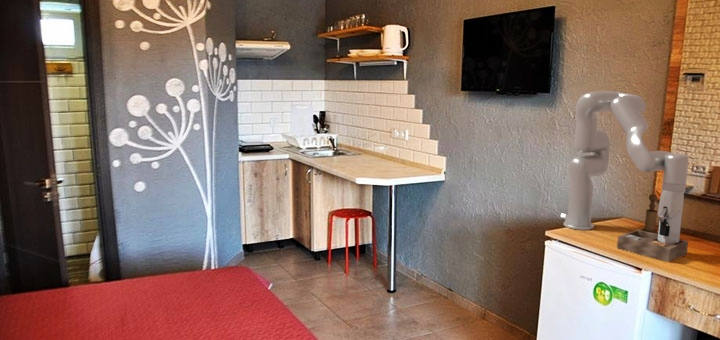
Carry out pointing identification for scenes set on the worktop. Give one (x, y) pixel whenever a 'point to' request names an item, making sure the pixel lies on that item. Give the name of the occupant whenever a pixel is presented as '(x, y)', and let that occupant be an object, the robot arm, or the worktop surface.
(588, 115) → the robot arm
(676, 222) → the skincare box
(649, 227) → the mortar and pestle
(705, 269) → the worktop surface
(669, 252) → the socket block
